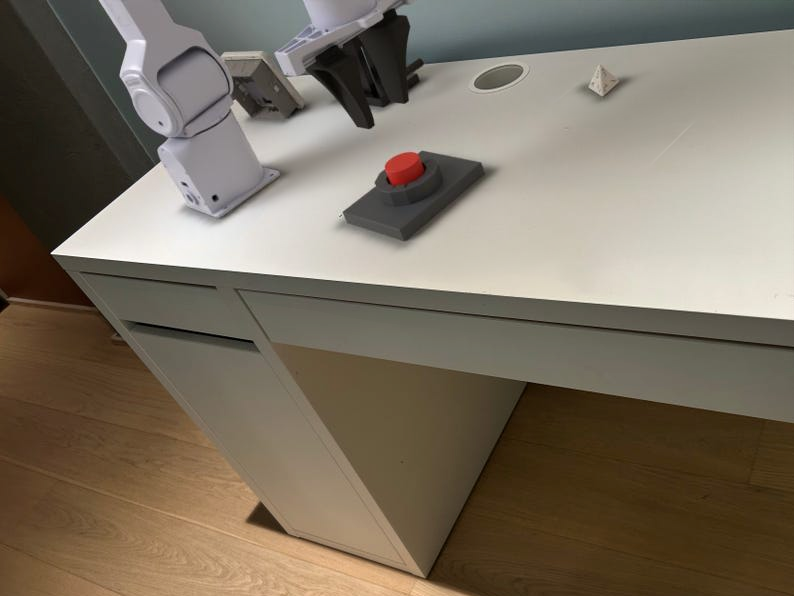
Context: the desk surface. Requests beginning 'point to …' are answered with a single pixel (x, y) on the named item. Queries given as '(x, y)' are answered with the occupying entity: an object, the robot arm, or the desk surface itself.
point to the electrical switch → (261, 85)
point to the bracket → (371, 74)
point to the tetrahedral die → (602, 81)
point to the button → (404, 168)
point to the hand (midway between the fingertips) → (383, 113)
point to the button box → (413, 196)
